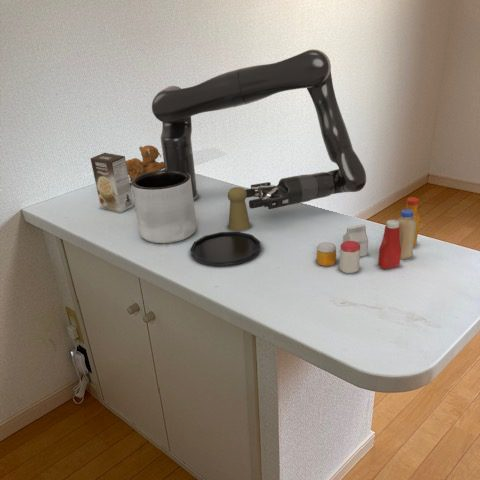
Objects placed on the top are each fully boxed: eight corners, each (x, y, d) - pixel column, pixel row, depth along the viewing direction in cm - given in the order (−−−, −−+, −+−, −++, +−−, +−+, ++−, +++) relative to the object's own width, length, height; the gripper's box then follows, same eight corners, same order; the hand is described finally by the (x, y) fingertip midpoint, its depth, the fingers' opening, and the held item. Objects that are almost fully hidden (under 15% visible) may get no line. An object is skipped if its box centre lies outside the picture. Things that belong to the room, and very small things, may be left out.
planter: (128, 240, 142) (117, 185, 134) (161, 218, 154) (153, 167, 145) (176, 249, 136) (168, 192, 127) (208, 226, 147) (202, 172, 139)
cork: (242, 232, 142) (240, 193, 136) (224, 228, 145) (221, 190, 139) (253, 224, 146) (252, 186, 140) (236, 220, 149) (233, 183, 143)
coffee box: (99, 208, 164) (88, 158, 156) (114, 201, 169) (103, 152, 160) (121, 213, 160) (110, 161, 151) (134, 206, 165) (125, 155, 156)
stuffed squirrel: (172, 184, 180) (167, 146, 172) (134, 193, 174) (127, 154, 167) (161, 177, 187) (155, 140, 180) (124, 186, 182) (117, 148, 174)
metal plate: (176, 256, 132) (175, 251, 131) (220, 231, 144) (219, 226, 143) (232, 273, 123) (232, 268, 122) (274, 244, 134) (274, 239, 134)
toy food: (409, 239, 132) (415, 193, 125) (437, 260, 121) (444, 212, 115) (310, 256, 128) (311, 209, 121) (330, 279, 117) (332, 230, 110)
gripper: (287, 169, 149) (234, 179, 145) (309, 183, 138) (252, 194, 134) (287, 194, 153) (236, 204, 149) (308, 210, 142) (253, 221, 138)
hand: (244, 199), depth 142 cm, fingers open, 8 cm apart
